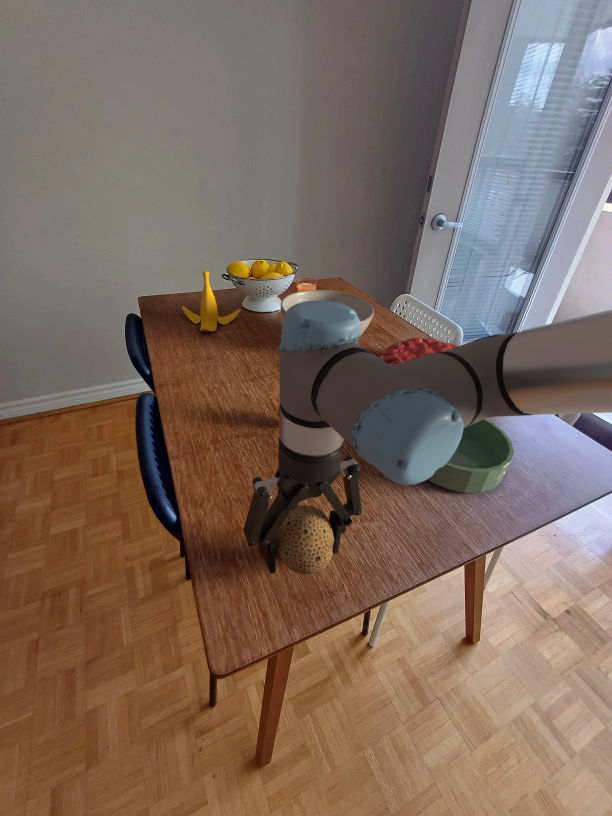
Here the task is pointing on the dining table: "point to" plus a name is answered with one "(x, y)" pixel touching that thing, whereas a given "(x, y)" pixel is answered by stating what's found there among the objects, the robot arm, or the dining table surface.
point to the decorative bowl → (354, 302)
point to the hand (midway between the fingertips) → (301, 555)
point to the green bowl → (476, 460)
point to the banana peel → (208, 309)
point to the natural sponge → (305, 540)
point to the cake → (413, 350)
